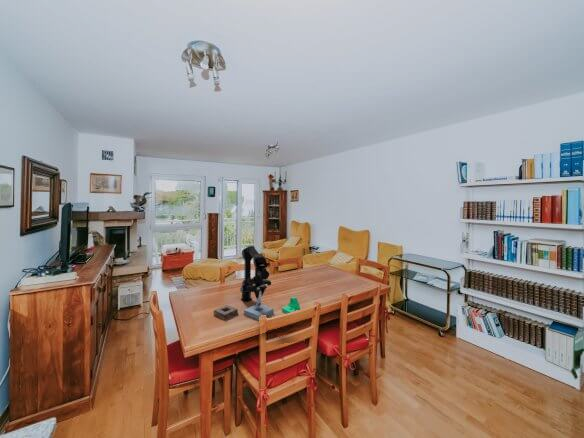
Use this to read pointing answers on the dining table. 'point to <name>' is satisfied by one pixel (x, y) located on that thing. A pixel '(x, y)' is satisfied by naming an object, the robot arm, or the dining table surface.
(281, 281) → the dining table surface
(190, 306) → the dining table surface
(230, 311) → the mount block
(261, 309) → the socket plate
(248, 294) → the robot arm
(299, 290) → the dining table surface
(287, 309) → the camera mount
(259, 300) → the pin
